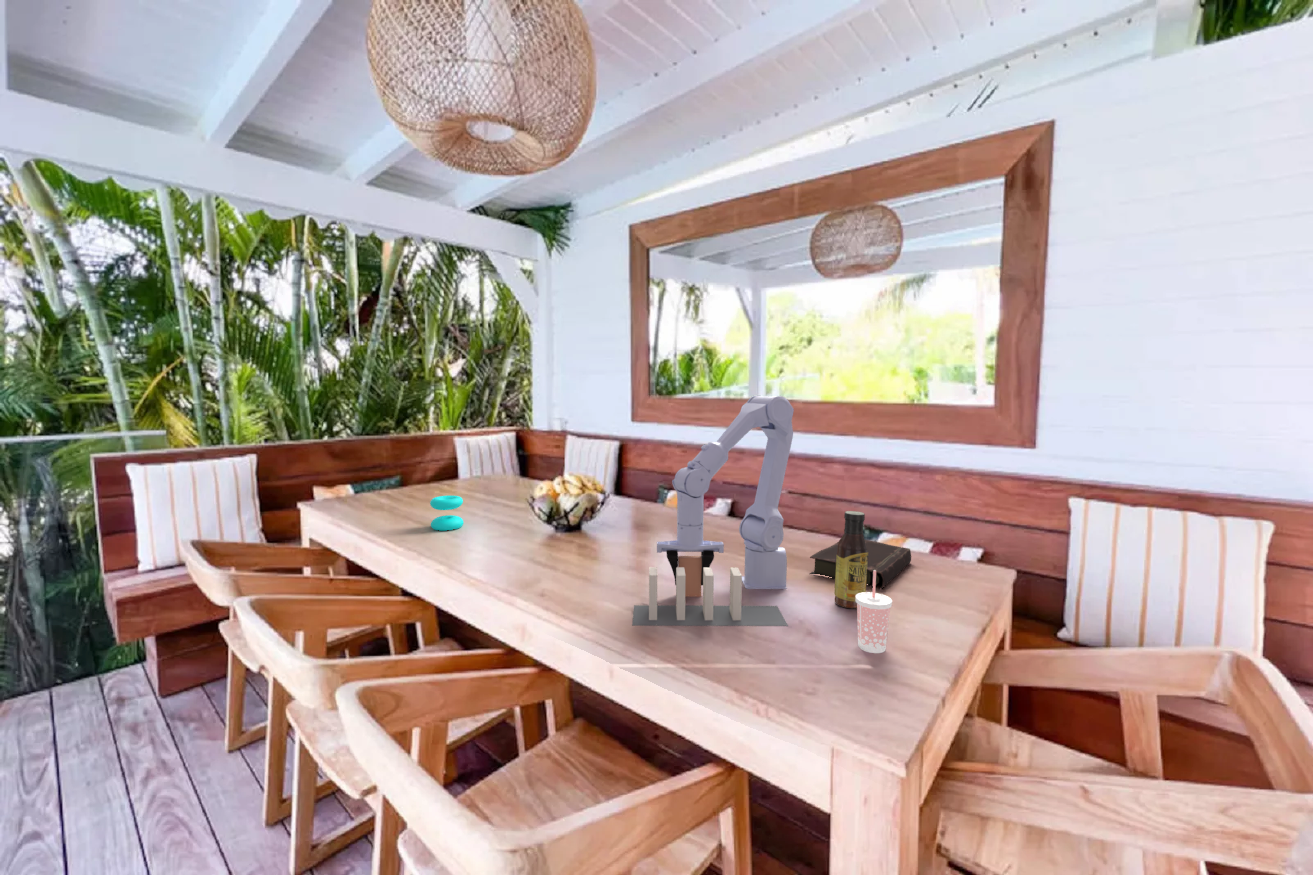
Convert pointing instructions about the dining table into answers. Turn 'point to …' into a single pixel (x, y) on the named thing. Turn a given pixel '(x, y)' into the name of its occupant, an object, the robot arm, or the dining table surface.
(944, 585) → the dining table surface
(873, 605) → the beverage cup
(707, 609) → the domino
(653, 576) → the domino
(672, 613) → the slate mat
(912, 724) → the dining table surface
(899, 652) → the dining table surface
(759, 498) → the robot arm
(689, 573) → the terracotta domino
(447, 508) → the donuts
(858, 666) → the dining table surface
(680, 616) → the domino
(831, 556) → the diary
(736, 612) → the domino
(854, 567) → the sauce bottle
